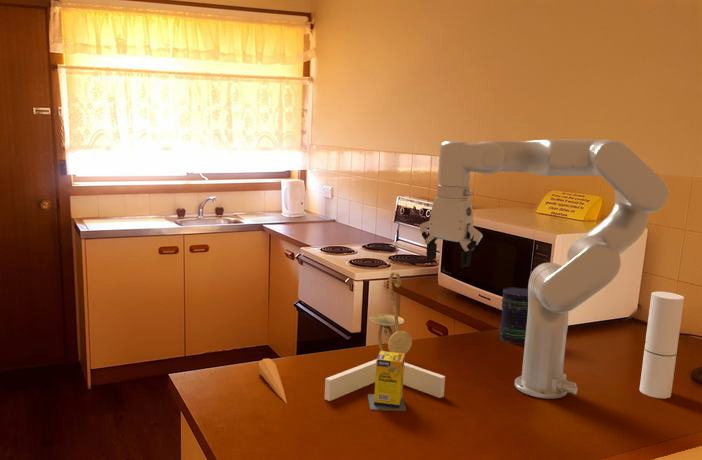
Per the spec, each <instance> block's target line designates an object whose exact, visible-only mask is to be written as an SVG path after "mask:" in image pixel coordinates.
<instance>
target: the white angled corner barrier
mask: <svg viewBox="0 0 702 460" xmlns="http://www.w3.org/2000/svg"><path fill="white" fill-rule="evenodd" d="M376 360H377V358H376V359H373V360H371V361H368V362H365V363H363V364H360V365H358V366H355V367H352V368H349V369H347V370H344V371H342V372H339V373H336V374H334V375H331V376H329V377H326V378H325V379H324V400H326V401H328V402H331V401H333V400H336V399H338V398H340V397H343V396H345V395H347V394H351V393H352V392H355V391H357V390H359V389H361V388H364V387H367V386H369V385H371V384H375V378H376ZM445 382H446V375H443V374H440V373H437V372H433V371H431V370H428V369H424V368H422V367H419V366H416V365H414V364H410V363H408V362H406V361H404V375H403V386H407V387H410V388H412V389H415V390H417V391H420V392H422V393H425V394H428V395H431V396H433V397H435V398H438V399H441V398H444V397H445V384H446V383H445Z"/></svg>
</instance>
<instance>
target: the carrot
mask: <svg viewBox="0 0 702 460" xmlns="http://www.w3.org/2000/svg"><path fill="white" fill-rule="evenodd" d="M258 373H259V375H261V377H262V378H263V379H264V381H266V383H268V385H269V387H271V389H272V390H273V391H274V392H275V393H276V395H277V396H278V397H279V398H280V399H281V400H282V401H283V402H284V403H285V404H286V405H288V403H287V398H286V397H287V396H286V394H285V389H284V386H283V383H282V379H281V376H280V374H279V371H278V367H277V365H276V362H274V361H273V360H272V359H271V358H263V359H262V360H260V361H259V362H258Z"/></svg>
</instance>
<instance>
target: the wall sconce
mask: <svg viewBox="0 0 702 460" xmlns="http://www.w3.org/2000/svg"><path fill="white" fill-rule="evenodd" d="M394 276H395V277H396V280H395V281H394V284H393V279H394ZM401 284H402V279H401V275H400V273H399V272H398V271H396V270H394V271H391V272H390V274H389V278H388V292H389V296H390V297H389V298H390V301H391V306H392V311H393V314H375V315H372V316H370V317H369V321H370V322H371V323H372V324H375V325H378V326H379V327H378V331H377V341H378V342H377V343H378V347H379V352H380V351H385V350H384V347H383V343H382V342H383V341H382V340H383V339H382V333H384V334H383V335H384V336H385V337H387V335H388V336H389V338H385V339H384V340H385V342H386V343H387V347H388V351H389V352H394V353H403V354H405V355H406V354H407V353H408V352H409V351H410V350H411V348H412V345H413V344H412V343H413V340H412V337H411V335H410V334H409V333H408V332H407V331H404V330H400V326H401V325H403V324H404V323H405V319H404V318H402V317H400V316H399V315H398V310H397V304H396V300H395V296H394V295H395V294H394V290H393V285H394V286H395V287H396V288H400V286H401ZM392 327H395V328H394V329H395V332H394V333H393V330H392ZM383 328H384V329H385V330H383Z"/></svg>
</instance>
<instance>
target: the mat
mask: <svg viewBox="0 0 702 460" xmlns="http://www.w3.org/2000/svg"><path fill="white" fill-rule="evenodd" d="M374 395H375V393H373V394H372V393H367V400H368V405H369V410H370V411H378V412H379V411H381V412H383V411H384V412H385V411H386V412H387V411H388V412H389V411H390V412H393V411H394V412H395V411H396V412H407V408H406V404H405V402H404V399H403V397H402V399H401V402H400V407H399V408H395V407H387V406H378V405H374Z"/></svg>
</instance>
